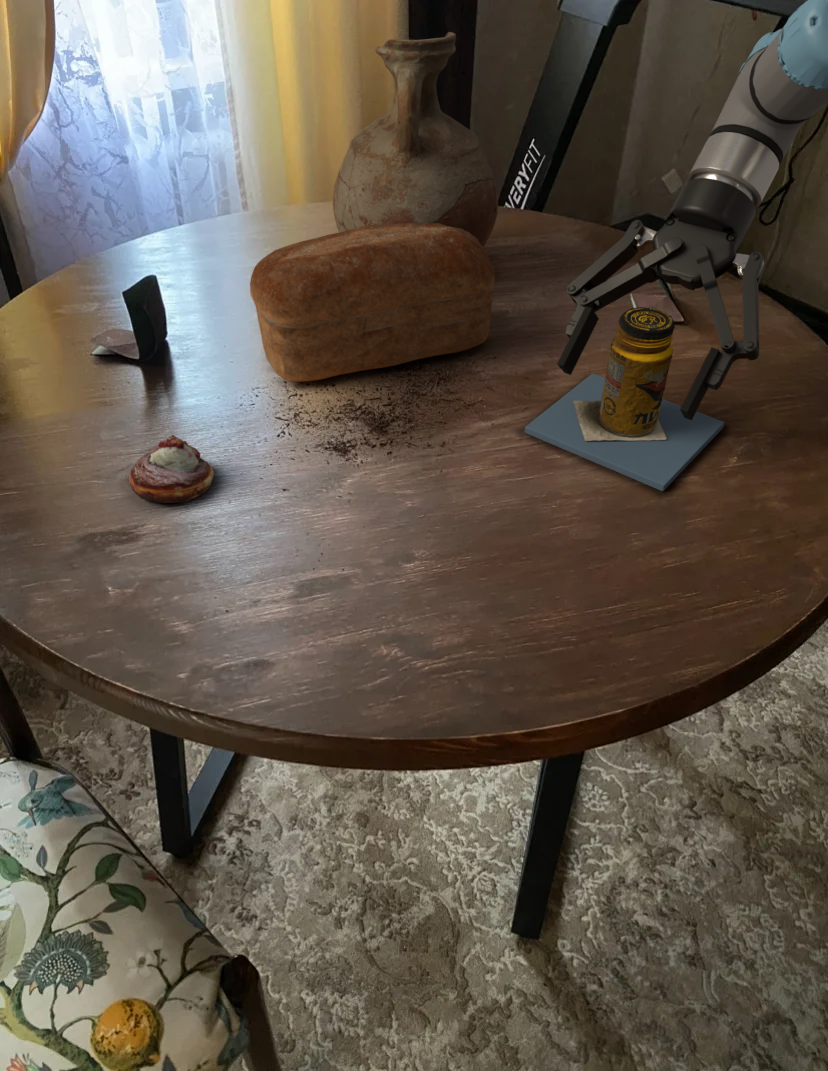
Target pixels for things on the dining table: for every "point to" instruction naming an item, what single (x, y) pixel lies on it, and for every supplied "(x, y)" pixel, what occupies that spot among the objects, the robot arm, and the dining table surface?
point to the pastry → (171, 473)
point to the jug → (416, 155)
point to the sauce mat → (630, 458)
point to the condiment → (632, 380)
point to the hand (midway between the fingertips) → (622, 391)
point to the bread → (372, 299)
